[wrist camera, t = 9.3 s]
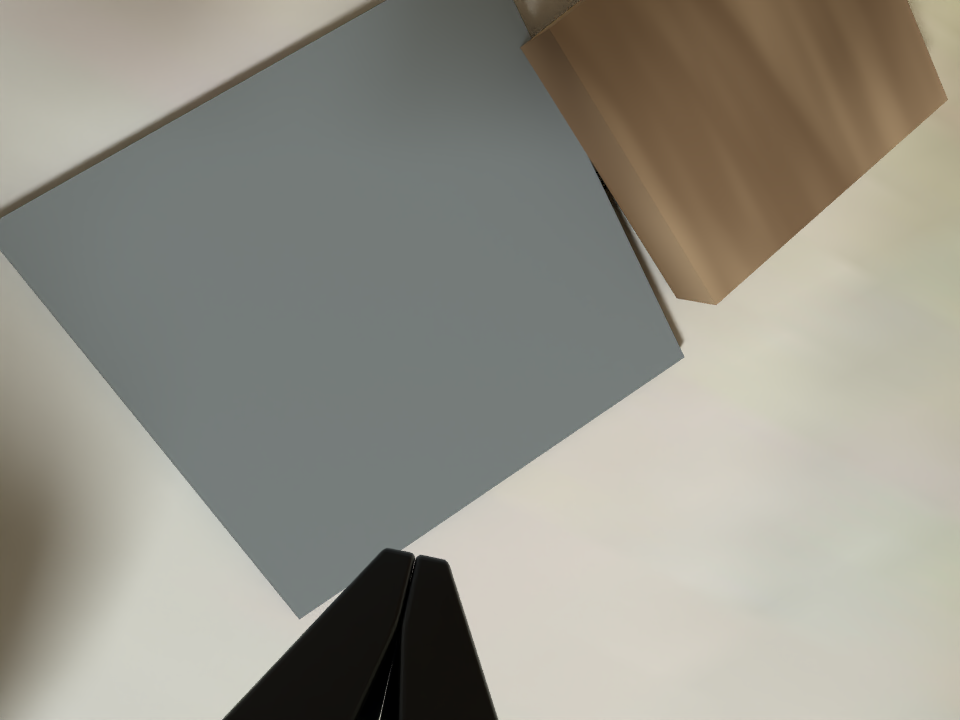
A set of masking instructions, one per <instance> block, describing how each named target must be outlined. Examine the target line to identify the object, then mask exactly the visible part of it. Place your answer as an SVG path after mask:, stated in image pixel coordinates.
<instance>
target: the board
mask: <svg viewBox="0 0 960 720" xmlns="http://www.w3.org/2000/svg"><path fill="white" fill-rule="evenodd" d="M520 48H521V50H522V51H523V53H524V55H525V56H526V58H527V59H528V61H529V63H530V64H531V66H532V67H533V69H534V71H535V72H536V74H537V75H538V77H539V79H540V80H541V82H542V83H543V85H544V87H545V88H546V90H547V91H548V93H549V95H550V96H551V98H552V99H553V101H554V103H555V104H556V106H557V107H558V109H559V111H560V112H561V114H562V115H563V117H564V119H565V120H566V122H567V123H568V125H569V127H570V128H571V130H572V131H573V133H574V135H575V136H576V138H577V139H578V141H579V143H580V144H581V146H582V147H583V149H584V151H585V152H586V154H587V155H588V157H589V159H590V160H591V162H592V163H593V165H594V167H595V168H596V170H597V171H598V173H599V175H600V176H601V178H602V179H603V181H604V183H605V184H606V186H607V187H608V189H609V191H610V192H611V194H612V195H613V197H614V199H615V200H616V202H617V203H618V205H619V207H620V208H621V210H622V211H623V213H624V215H625V216H626V218H627V219H628V221H629V223H630V224H631V226H632V227H633V229H634V231H635V232H636V234H637V235H638V237H639V239H640V240H641V242H642V243H643V245H644V247H645V248H646V250H647V251H648V253H649V255H650V256H651V258H652V259H653V261H654V263H655V264H656V266H657V267H658V269H659V270H660V272H661V274H662V275H663V277H664V278H665V280H666V282H667V283H668V285H669V286H670V288H671V290H672V291H673V293H674V294H675V296H676V298H678V299H684V300H690V301H696V302H702V303H707V304H713V305H717V304H718V303H719V302H720V301H721V300H722V299H723V298H725V297H726V296H727V295H728V294H729V293H730V292H731V291H732V290H734V289H735V288H736V287H737V286H738V285H739V284H740V283H742V282H743V281H744V280H745V279H746V278H747V277H748V276H749V275H751V274H752V273H753V272H754V271H755V270H756V269H757V268H758V267H760V266H761V265H762V264H763V263H764V262H765V261H766V260H767V259H769V258H770V257H771V256H772V255H773V254H774V253H775V252H776V251H778V250H779V249H780V248H781V247H782V246H783V245H784V244H786V243H787V242H788V241H789V240H790V239H791V238H792V237H793V236H795V235H796V234H797V233H798V232H799V231H800V230H801V229H802V228H804V227H805V226H806V225H807V224H808V223H809V222H810V221H811V220H813V219H814V218H815V217H816V216H817V215H818V214H819V213H820V212H822V211H823V210H824V209H825V208H826V207H827V206H828V205H830V204H831V203H832V202H833V201H834V200H835V199H836V198H837V197H839V196H840V195H841V194H842V193H843V192H844V191H845V190H846V189H848V188H849V187H850V186H851V185H852V184H853V183H854V182H855V181H857V180H858V179H859V178H860V177H861V176H862V175H863V174H865V173H866V172H867V171H868V170H869V169H870V168H871V167H872V166H874V165H875V164H876V163H877V162H878V161H879V160H880V159H881V158H883V157H884V156H885V155H886V154H887V153H888V152H889V151H890V150H892V149H893V148H894V147H895V146H896V145H897V144H898V143H899V142H901V141H902V140H903V139H904V138H905V137H906V136H907V135H909V134H910V133H911V132H912V131H913V130H914V129H915V128H916V127H918V126H919V125H920V124H921V123H922V122H923V121H924V120H925V119H927V118H928V117H929V116H930V115H931V114H932V113H933V112H934V111H936V110H937V109H938V108H939V107H940V106H941V105H942V104H943V103H945V102H946V101H947V100H948V99H947V96H946V94H945V91H944V89H943V87H942V84H941V82H940V79H939V77H938V74H937V72H936V69H935V67H934V65H933V62H932V60H931V57H930V55H929V52H928V50H927V47H926V45H925V43H924V40H923V38H922V35H921V33H920V30H919V28H918V25H917V23H916V21H915V18H914V16H913V13H912V11H911V8H910V6H909V3H908V1H907V0H580V1H579V2H578V3H576V4H575V5H574V6H573V7H571V8H570V9H569V10H567V11H566V12H565V13H564V14H562V15H561V16H560V17H559V18H557V19H556V20H555V21H553V22H552V23H551V24H550V25H548V26H547V27H546V28H544V29H543V30H542V31H541V32H539V33H538V34H537V35H536V36H534V37H533V38H532V39H530V40H529V41H528V42H527V43H525V44H524V45H523V46H522V47H520Z"/></svg>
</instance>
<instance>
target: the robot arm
mask: <svg viewBox="0 0 960 720" xmlns="http://www.w3.org/2000/svg"><path fill="white" fill-rule="evenodd" d="M414 562H415V564H414ZM413 567H414V568H413ZM412 571H413V572H412ZM410 580H411V581H410ZM389 674H390V675H389ZM388 679H389V680H388ZM387 683H388V684H387ZM386 688H387V689H386ZM385 692H386V694H385ZM384 696H385V698H384ZM383 701H384V703H383ZM382 705H383V707H382ZM381 710H382V712H381ZM380 714H381V717H380ZM379 718H380V720H498V717H497V714H496V711H495V708H494V705H493V702H492V698H491V695H490V692H489V689H488V686H487V683H486V679H485V676H484V673H483V670H482V667H481V664H480V660H479V657H478V654H477V651H476V648H475V645H474V641H473V638H472V635H471V632H470V629H469V625H468V622H467V619H466V616H465V613H464V610H463V606H462V603H461V600H460V597H459V594H458V591H457V587H456V584H455V581H454V578H453V575H452V572H451V568H450V566H449V564H448V562H447V561H446V560H443V559H438V558H434V557H429V556H424V555H419V556H418V557H417V558H416V560H415V556H414V555H413V553H410V552H406V551H401V550H396V549H392V548H385V549H383V550H382V551H381V552H380V553H379V554H378V555H377V556H376V557H375V558H374V559H373V560H372V561H371V562H370V563H369V564H368V565H367V567H366V568H365V569H364V570H363V571H362V572H361V573H360V574H359V575H358V576H357V577H356V578H355V579H354V580H353V581H352V582H351V584H350V585H349V586H348V587H347V588H346V589H345V590H344V591H343V592H342V593H341V594H340V595H339V596H338V597H337V598H336V599H335V600H334V602H333V603H332V604H331V605H330V606H329V607H328V608H327V609H326V610H325V611H324V612H323V613H322V614H321V615H320V616H319V617H318V619H317V620H316V621H315V622H314V623H313V624H312V625H311V626H310V627H309V628H308V629H307V630H306V631H305V632H304V633H303V634H302V636H301V637H300V638H299V639H298V640H297V641H296V642H295V643H294V644H293V645H292V646H291V647H290V648H289V649H288V650H287V651H286V652H285V654H284V655H283V656H282V657H281V658H280V659H279V660H278V661H277V662H276V663H275V664H274V665H273V666H272V667H271V668H270V669H269V671H268V672H267V673H266V674H265V675H264V676H263V677H262V678H261V679H260V680H259V681H258V682H257V683H256V684H255V685H254V686H253V687H252V689H251V690H250V691H249V692H248V693H247V694H246V695H245V696H244V697H243V698H242V699H241V700H240V701H239V702H238V703H237V704H236V706H235V707H234V708H233V709H232V710H231V711H230V712H229V713H228V714H227V715H226V716H225V717H224V718H223V719H222V720H379Z"/></svg>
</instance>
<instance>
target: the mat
mask: <svg viewBox="0 0 960 720" xmlns="http://www.w3.org/2000/svg"><path fill="white" fill-rule="evenodd" d="M530 39H532V38H531V36H530V34H529V32H528V30H527V28H526V26H525V24H524V22H523V20H522V18H521V16H520V13H519V11H518V9H517V7H516V5H515V3H514V1H513V0H386V1H384V2H383V3H381V4H379V5H377V6H375V7H374V8H372V9H370V10H368V11H367V12H365V13H363V14H361V15H359V16H358V17H356V18H354V19H352V20H351V21H349V22H347V23H345V24H344V25H342V26H340V27H338V28H336V29H335V30H333V31H331V32H329V33H328V34H326V35H324V36H322V37H321V38H319V39H317V40H315V41H313V42H312V43H310V44H308V45H306V46H305V47H303V48H301V49H299V50H297V51H296V52H294V53H292V54H290V55H289V56H287V57H285V58H283V59H282V60H280V61H278V62H276V63H274V64H273V65H271V66H269V67H267V68H266V69H264V70H262V71H260V72H259V73H257V74H255V75H253V76H251V77H250V78H248V79H246V80H244V81H243V82H241V83H239V84H237V85H235V86H234V87H232V88H230V89H228V90H227V91H225V92H223V93H221V94H220V95H218V96H216V97H214V98H212V99H211V100H209V101H207V102H205V103H204V104H202V105H200V106H198V107H197V108H195V109H193V110H191V111H189V112H188V113H186V114H184V115H182V116H181V117H179V118H177V119H175V120H173V121H172V122H170V123H168V124H166V125H165V126H163V127H161V128H159V129H158V130H156V131H154V132H152V133H150V134H149V135H147V136H145V137H143V138H142V139H140V140H138V141H136V142H135V143H133V144H131V145H129V146H127V147H126V148H124V149H122V150H120V151H119V152H117V153H115V154H113V155H111V156H110V157H108V158H106V159H104V160H103V161H101V162H99V163H97V164H96V165H94V166H92V167H90V168H88V169H87V170H85V171H83V172H81V173H80V174H78V175H76V176H74V177H73V178H71V179H69V180H67V181H65V182H64V183H62V184H60V185H58V186H57V187H55V188H53V189H51V190H49V191H48V192H46V193H44V194H42V195H41V196H39V197H37V198H35V199H34V200H32V201H30V202H28V203H26V204H25V205H23V206H21V207H19V208H18V209H16V210H14V211H12V212H11V213H9V214H7V215H5V216H3V217H2V218H0V250H1V252H2V253H3V254H4V255H5V257H6V258H7V259H8V260H9V262H10V263H11V264H12V265H13V267H14V268H15V269H16V270H17V271H18V273H19V274H20V275H21V276H22V278H23V279H24V280H25V281H26V283H27V284H28V285H29V286H30V288H31V289H32V290H33V291H34V292H35V294H36V295H37V296H38V297H39V299H40V300H41V301H42V302H43V304H44V305H45V306H46V307H47V309H48V310H49V311H50V312H51V313H52V315H53V316H54V317H55V318H56V320H57V321H58V322H59V323H60V325H61V326H62V327H63V328H64V329H65V331H66V332H67V333H68V334H69V336H70V337H71V338H72V339H73V341H74V342H75V343H76V344H77V346H78V347H79V348H80V349H81V350H82V352H83V353H84V354H85V355H86V357H87V358H88V359H89V360H90V362H91V363H92V364H93V365H94V367H95V368H96V369H97V370H98V371H99V373H100V374H101V375H102V376H103V378H104V379H105V380H106V381H107V383H108V384H109V385H110V386H111V388H112V389H113V390H114V391H115V392H116V394H117V395H118V396H119V397H120V399H121V400H122V401H123V402H124V404H125V405H126V406H127V407H128V408H129V410H130V411H131V412H132V413H133V415H134V416H135V417H136V418H137V420H138V421H139V422H140V423H141V425H142V426H143V427H144V428H145V429H146V431H147V432H148V433H149V434H150V436H151V437H152V438H153V439H154V441H155V442H156V443H157V444H158V446H159V447H160V448H161V449H162V450H163V452H164V453H165V454H166V455H167V457H168V458H169V459H170V460H171V462H172V463H173V464H174V465H175V467H176V468H177V469H178V470H179V471H180V473H181V474H182V475H183V476H184V478H185V479H186V480H187V481H188V483H189V484H190V485H191V486H192V488H193V489H194V490H195V491H196V492H197V494H198V495H199V496H200V497H201V499H202V500H203V501H204V502H205V504H206V505H207V506H208V507H209V508H210V510H211V511H212V512H213V513H214V515H215V516H216V517H217V518H218V520H219V521H220V522H221V523H222V525H223V526H224V527H225V528H226V529H227V531H228V532H229V533H230V534H231V536H232V537H233V538H234V539H235V541H236V542H237V543H238V544H239V546H240V547H241V548H242V549H243V550H244V552H245V553H246V554H247V555H248V557H249V558H250V559H251V560H252V562H253V563H254V564H255V565H256V567H257V568H258V569H259V570H260V571H261V573H262V574H263V575H264V576H265V578H266V579H267V580H268V581H269V583H270V584H271V585H272V586H273V587H274V589H275V590H276V591H277V592H278V594H279V595H280V596H281V597H282V599H283V600H284V601H285V602H286V604H287V605H288V606H289V607H290V608H291V610H292V611H293V612H294V613H295V615H296V616H297V617H298V618H299V619H301V618H302V617H304V616H305V615H307V614H308V613H309V612H311V611H312V610H314V609H315V608H317V607H318V606H320V605H321V604H323V603H324V602H326V601H327V600H329V599H330V598H331V597H333V596H334V595H336V594H337V593H339V592H340V591H342V590H343V589H345V588H346V587H348V586H349V585H350V584H351V582H352V581H353V580H354V579H355V578H356V577H357V576H358V575H359V574H360V573H361V572H362V571H363V570H364V569H365V568H366V567H367V565H368V564H369V563H370V562H371V561H372V560H373V559H374V558H375V557H376V556H377V555H378V554H379V553H380V552H381V551H382V550H383V549H385V548H392V549H396V550H402V549H403V548H405V547H406V546H408V545H409V544H411V543H412V542H414V541H415V540H417V539H418V538H420V537H421V536H423V535H424V534H425V533H427V532H428V531H430V530H431V529H433V528H434V527H436V526H437V525H439V524H440V523H442V522H443V521H445V520H446V519H448V518H449V517H450V516H452V515H453V514H455V513H456V512H458V511H459V510H461V509H462V508H464V507H465V506H467V505H468V504H470V503H471V502H472V501H474V500H475V499H477V498H478V497H480V496H481V495H483V494H484V493H486V492H487V491H489V490H490V489H492V488H493V487H495V486H496V485H497V484H499V483H500V482H502V481H503V480H505V479H506V478H508V477H509V476H511V475H512V474H514V473H515V472H517V471H518V470H519V469H521V468H522V467H524V466H525V465H527V464H528V463H530V462H531V461H533V460H534V459H536V458H537V457H539V456H540V455H542V454H543V453H544V452H546V451H547V450H549V449H550V448H552V447H553V446H555V445H556V444H558V443H559V442H561V441H562V440H564V439H565V438H566V437H568V436H569V435H571V434H572V433H574V432H575V431H577V430H578V429H580V428H581V427H583V426H584V425H586V424H587V423H589V422H590V421H591V420H593V419H594V418H596V417H597V416H599V415H600V414H602V413H603V412H605V411H606V410H608V409H609V408H611V407H612V406H613V405H615V404H616V403H618V402H619V401H621V400H622V399H624V398H625V397H627V396H628V395H630V394H631V393H633V392H634V391H635V390H637V389H638V388H640V387H641V386H643V385H644V384H646V383H647V382H649V381H650V380H652V379H653V378H655V377H656V376H658V375H659V374H660V373H662V372H663V371H665V370H666V369H668V368H669V367H671V366H672V365H674V364H675V363H677V362H678V361H680V360H681V359H682V358H684V355H683V353H682V351H681V349H680V347H679V345H678V343H677V341H676V338H675V336H674V334H673V332H672V330H671V328H670V326H669V324H668V322H667V320H666V318H665V316H664V313H663V311H662V309H661V307H660V305H659V303H658V301H657V299H656V297H655V295H654V293H653V291H652V288H651V286H650V284H649V282H648V280H647V278H646V276H645V274H644V272H643V270H642V268H641V266H640V263H639V261H638V259H637V257H636V255H635V253H634V251H633V249H632V247H631V245H630V243H629V241H628V238H627V236H626V234H625V232H624V230H623V228H622V226H621V224H620V222H619V220H618V218H617V216H616V213H615V211H614V209H613V207H612V205H611V203H610V201H609V199H608V197H607V195H606V193H605V191H604V188H603V186H602V184H601V182H600V180H599V178H598V176H597V174H596V172H595V170H594V168H593V166H592V163H591V161H590V159H589V157H588V155H587V154H586V152H585V151H584V149H583V147H582V146H581V144H580V143H579V141H578V139H577V138H576V136H575V135H574V133H573V131H572V130H571V128H570V127H569V125H568V123H567V122H566V120H565V119H564V117H563V115H562V114H561V112H560V111H559V109H558V107H557V106H556V104H555V103H554V101H553V99H552V98H551V96H550V95H549V93H548V91H547V90H546V88H545V87H544V85H543V83H542V82H541V80H540V79H539V77H538V75H537V74H536V72H535V71H534V69H533V67H532V66H531V64H530V63H529V61H528V59H527V58H526V56H525V55H524V53H523V51H522V50H521V48H520V47H522V46H523V45H524V44H525V43H527V42H528V41H529V40H530Z"/></svg>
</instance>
